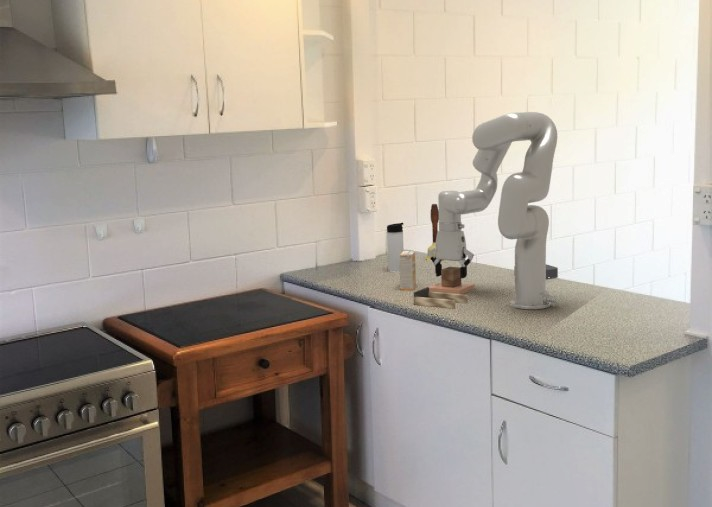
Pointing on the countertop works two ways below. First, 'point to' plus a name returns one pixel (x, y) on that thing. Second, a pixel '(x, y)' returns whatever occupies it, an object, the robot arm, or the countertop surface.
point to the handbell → (434, 227)
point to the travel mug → (394, 245)
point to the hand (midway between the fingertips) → (451, 276)
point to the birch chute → (438, 298)
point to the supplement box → (407, 270)
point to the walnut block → (450, 277)
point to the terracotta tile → (456, 290)
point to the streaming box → (549, 272)
